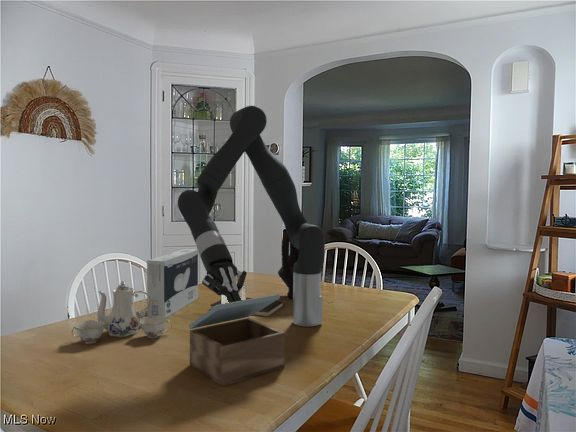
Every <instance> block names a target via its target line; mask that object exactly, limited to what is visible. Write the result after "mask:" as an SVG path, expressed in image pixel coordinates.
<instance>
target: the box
mask: <svg viewBox="0 0 576 432" xmlns="http://www.w3.org/2000/svg"><path fill="white" fill-rule="evenodd" d="M285 333H286V332H284V331H282V330H279V329H276V328H275V327H271V326H269V325H268V324H264V323H262V322H259V321H257V320H254V319H252V318H250V317H246V318H241V319H236V320H231V321H227V322H222V323H217V324H212V325H207V326H202V327H197V328H193V329H189V365H190V367H192V368H193V369H195V370H197V371H198V372H200V373H202V374H203V375H205V376H206V377H207V378H209V379H210V380H211V381H212V382H215V383H216V384H217V385H219V386H220V387H227V386H230V385H233V384H235V383H236V384H237V383H239V382H240V383H241V382H242V381H243V382H244V381H247V380H249V379H253V378H256V377H259V376H262V375H265V374H268V373H272V372H275V371H278V370H282V369H284V368H285V345H286V344H285V341H286V340H285V339H286V334H285Z"/></svg>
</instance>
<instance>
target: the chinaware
mask: <svg viewBox="0 0 576 432" xmlns="http://www.w3.org/2000/svg"><path fill="white" fill-rule="evenodd" d="M134 290H135V289H134V288H133V287H129V285H128V284H126V282H125V280H122V281H121V282H120V284H119V285H117V287H116V288H114V289H111V292H112V296H113V304H112V308H111V312H110V313H109V314H107V313H106V310H107V309H106V306H107V300H108V299H107V295H106V292H104V291H102V290H100V291H98V293H99V295H100V299H101V300H100V302H99V305H98V309H97V315H96V316H97V317H96V318H97V320H93V319H89V320H86V321H84V322H83V323H82V322H78V323H75V324H74V327H72V329H71V334H72V336H73V337H74V338H79V339H80V341H84V342H83V343H84V344H86V345H91V344H95V343H96V342H97V340H98V339H99V338H100V337H101V336H102V334H103V332H104V329H105V330H106V331H107V332H108V335H109V337H115V338H124V337H129V336H132V335H135V334H137V333H138V332H139V331H138V329H139V328H141V330H142V332H143V334H145V335H147V338H148V339H156V338H160V336H159V335H160V334H161V335H164V332H169V331H170V330H171V329H172V327H173V322H172V321H171V320H169V318H168V317H165V318H163V317H161V316H158V315H157V316H153V317H151V318H150V317H147V316H145V315H146V310H147V308H148V307H149V306H150V303H151V298H150V296H149V294H148V293H147V291H144V290H135V291H134ZM139 293H141V294H144V295H146V296H148V298H149V303H148V305H147V304H146V306H145V307H143V308H142V309H139V310H137V311H136V308H135V305H134V301H133V297H135V298H138V297H139ZM168 322H169V323H170V327H169V329H165V327H166V324H168ZM74 329H75V331H76V333H77V336H76V335H75V333H74Z"/></svg>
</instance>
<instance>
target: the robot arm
mask: <svg viewBox="0 0 576 432" xmlns="http://www.w3.org/2000/svg"><path fill="white" fill-rule="evenodd" d="M229 126H230V130H231V132H232V133H231V134H230V136H229V137H228V138H227V140H226V142H225V143H224V144H223V145H222V146H220V148H219V149H218V150H217V152H215V153H214V155H213V156H211V157H210V159H209V161H208V162H207V164H206V165H205V166H204V168H203V170H202V171H201V173H200V174H199V176H198V177H197V179H196V185H197V187H198V190H197V191H196V190H193V189H186V190H184V191H182V192H181V193H180V194H179V196H178V198H177V207H178V210H179V212H180V214H181V216H182V218H183V219H184V221H185V223H186V224H187V226H188V228H189V229H190V232H191V233H190V234H191V235H192V238H193V240H194V243H195V246H196V249H197V250H198V256H199V257H200V259H201V262H202V264H203V266H204V269H205V271H206V275H205V276H204V278H203V279H202V281H201V284H202V285H203V286H205V287H206V288H208V289H209V290H210V291H211V292H213V293H215V294H216V295H217V296H219V297H220V296H224V297H225V298H226V297H227V300H228V302H229V303H231V302H237V301H242V300H241V298H240V297H241V296H240V294H239V293H240V291H241V290H242V288H244V283H245V282H246V281H245V280H246V277H247V271H246V270H243V271H241V270H238V268H237V266H236V265H235V264H234V261H233V257H232V255H231V253H230V251H229V248H228V247H227V244H226V242H225V240H224V237H223V236H222V235H221V233H220V230H219V229H218V227H217V225H216V223H215V221H214V220H213V217H212V216H211V215H210V213H211V212H212V210H213V207H214V205H215V202H216V199H217V196H218V192H219V191H220V189H221V188H222V186H223V184H224V183H225V181H226V180H227V178H228V176H229V175H230V173H231V172H232V170H233V169H234V167H235V165H236V164H237V163H238V161H239V160H240V158H241V157H242V156H243V155H244V153H245V154H246V156H247V157H248V159H249V162H250V163H251V165H252V166H253V168H254V171H255V173H256V174H257V176H258V178H259V180H260V182H261V183H262V184H261V185H262V186H263V188H264V190H265V192H266V194H267V195H268V197H269V199H270V200H271V202H272V204H273V206H274V208H275V210H276V211H277V214H278V215H279V216H280V219H281V221H282V222H283V224H284V227H285V228H286V230H287V233H288V235H289V238H290V240H291V242H292V244H293V245H294V246H295V247H296V248H297V249H299V257H298V261H297V262H296V263H295V264H294V274H293V298H292V323H293V324H294V326H299V327H315V326H320V325H322V324H323V295H322V293H321V292H322V290H321V289H322V277H321V271H322V268H323V265H324V261H325V247H326V245H325V243H326V241H325V239H326V238H325V233H324V231H323V229H322V228H321V227H320V226H318V225H315V224H310V223H309V222H308V220H307V219H306V217H305V216H304V214H303V212H302V210H301V207H300V205H299V199H298V194H297V188H296V185H295V182H294V180H293V178H292V177H291V174H290V172H289V170H288V169H287V167H286V166H285V165H284V164H283V162H282V161H281V160H280V159H279V158H278V157H277V156H276V155H275V154H274V153H273V152H272V151H271V150H270V149H269V148H268V147H267V145H266V143H265V142H264V140H263V138H262V136H261V134H262V133H263V132H264V130H266V129H265V128H266V126H267V115H266V113H265V111H264V110H263V109H262V108H261V107H259V106H257V105H246V106H244V107H242V108H240V109H237V110H236V111H235V112H233V113H232V114H231V116H230V119H229Z"/></svg>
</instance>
